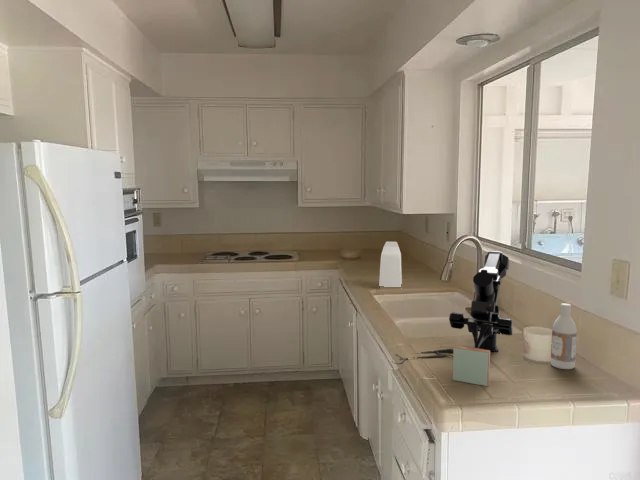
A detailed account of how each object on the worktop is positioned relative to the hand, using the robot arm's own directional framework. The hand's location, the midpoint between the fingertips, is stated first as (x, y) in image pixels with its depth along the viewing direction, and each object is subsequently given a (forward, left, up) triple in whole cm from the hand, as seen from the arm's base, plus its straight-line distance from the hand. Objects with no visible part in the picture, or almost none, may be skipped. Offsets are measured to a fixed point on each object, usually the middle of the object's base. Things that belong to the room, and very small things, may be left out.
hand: (476, 347), depth 150 cm
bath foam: (-11, +28, -8) cm, 31 cm away
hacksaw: (-10, -15, -8) cm, 20 cm away
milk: (-122, -32, -8) cm, 126 cm away
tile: (+8, -2, -8) cm, 12 cm away
